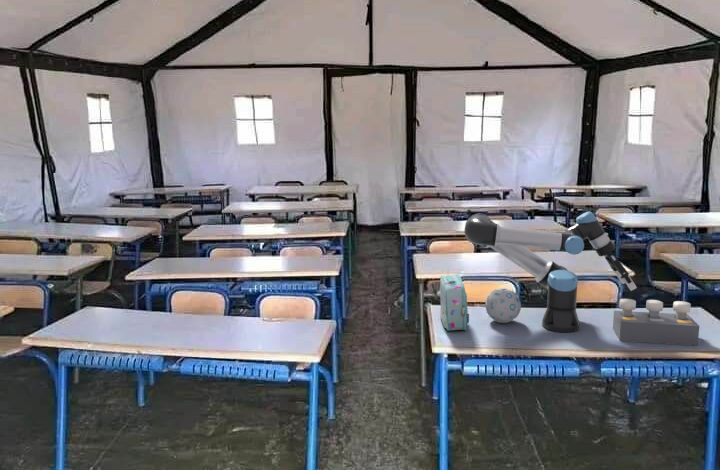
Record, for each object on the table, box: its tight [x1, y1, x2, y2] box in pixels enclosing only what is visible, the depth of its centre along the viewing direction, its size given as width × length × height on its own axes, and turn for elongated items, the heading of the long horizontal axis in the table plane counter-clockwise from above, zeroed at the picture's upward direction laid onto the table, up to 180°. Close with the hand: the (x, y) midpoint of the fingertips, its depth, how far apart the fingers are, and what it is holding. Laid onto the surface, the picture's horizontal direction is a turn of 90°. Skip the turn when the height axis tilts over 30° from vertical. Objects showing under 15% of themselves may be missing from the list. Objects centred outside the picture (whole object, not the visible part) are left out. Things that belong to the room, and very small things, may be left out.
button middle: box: [645, 299, 664, 318], centre depth 231 cm, size 6×6×8 cm
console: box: [612, 310, 700, 346], centre depth 230 cm, size 28×14×8 cm, turn 77°
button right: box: [672, 300, 692, 320], centre depth 229 cm, size 6×6×8 cm
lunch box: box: [439, 273, 470, 332], centre depth 248 cm, size 27×10×21 cm, turn 179°
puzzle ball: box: [484, 287, 522, 324], centre depth 251 cm, size 15×15×15 cm
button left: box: [618, 298, 637, 317], centre depth 233 cm, size 6×6×8 cm
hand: (629, 285), depth 247 cm, fingers open, 13 cm apart
